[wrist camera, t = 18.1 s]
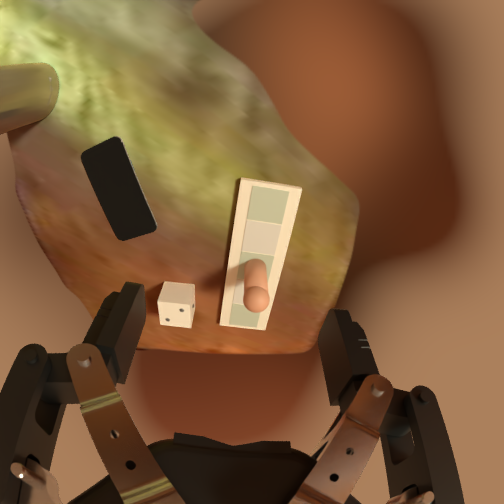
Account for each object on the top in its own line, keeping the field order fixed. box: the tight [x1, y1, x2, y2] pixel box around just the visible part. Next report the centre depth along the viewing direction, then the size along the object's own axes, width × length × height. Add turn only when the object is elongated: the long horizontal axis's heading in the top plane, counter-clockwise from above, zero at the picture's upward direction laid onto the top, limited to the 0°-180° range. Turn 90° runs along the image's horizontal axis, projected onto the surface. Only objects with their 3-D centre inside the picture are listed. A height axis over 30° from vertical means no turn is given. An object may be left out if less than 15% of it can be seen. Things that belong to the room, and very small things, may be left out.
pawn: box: [243, 259, 270, 313], centre depth 40 cm, size 3×3×9 cm
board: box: [220, 177, 302, 330], centre depth 45 cm, size 8×26×1 cm, turn 171°
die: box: [157, 282, 195, 328], centre depth 46 cm, size 5×5×5 cm
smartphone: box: [81, 136, 157, 241], centre depth 38 cm, size 7×1×15 cm
